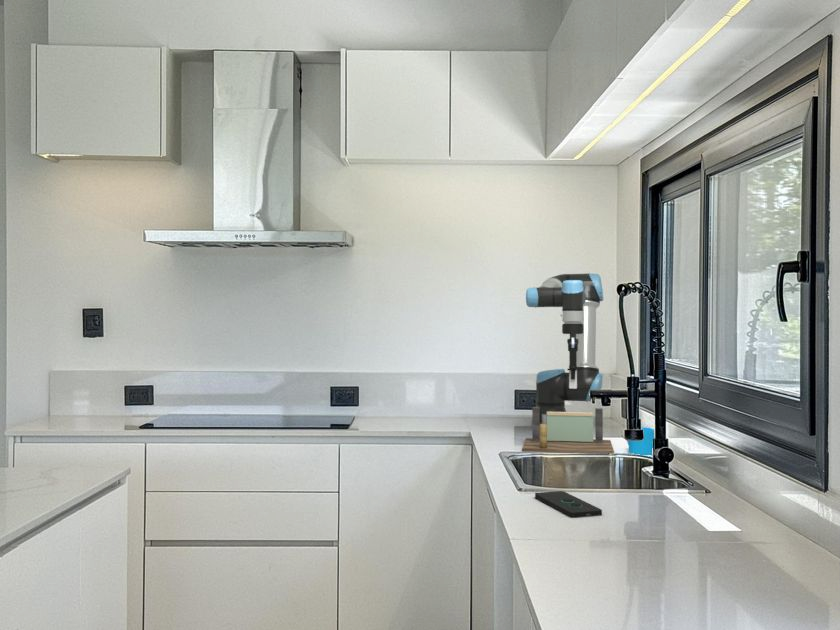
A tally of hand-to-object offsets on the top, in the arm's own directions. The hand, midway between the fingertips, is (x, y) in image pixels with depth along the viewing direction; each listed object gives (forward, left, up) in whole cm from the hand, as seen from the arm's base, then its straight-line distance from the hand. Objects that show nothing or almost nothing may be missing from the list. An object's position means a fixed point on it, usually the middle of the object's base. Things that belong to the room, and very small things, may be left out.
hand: (573, 388), depth 271 cm
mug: (+18, +21, -20) cm, 34 cm away
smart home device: (+94, -2, -20) cm, 96 cm away
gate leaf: (+7, -2, -18) cm, 19 cm away
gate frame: (+11, -2, -19) cm, 22 cm away
